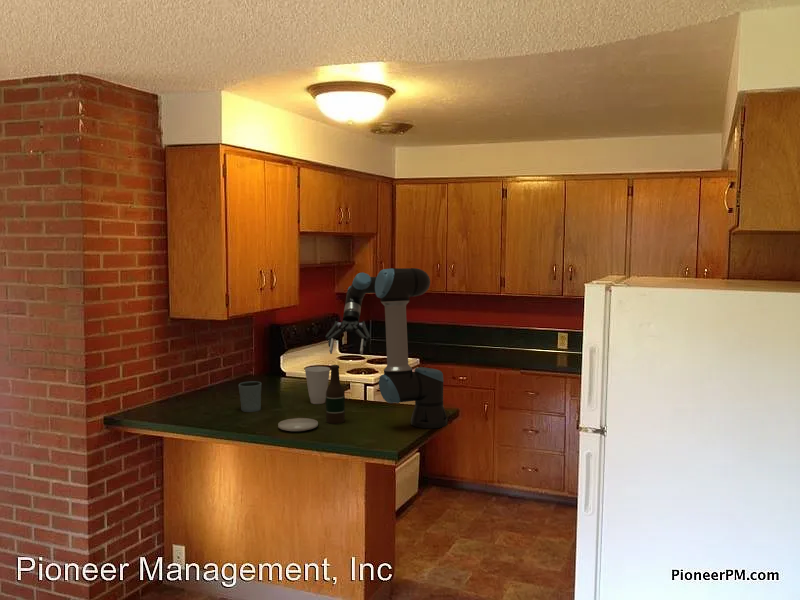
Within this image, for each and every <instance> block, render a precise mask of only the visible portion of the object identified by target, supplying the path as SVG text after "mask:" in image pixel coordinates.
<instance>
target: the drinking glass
mask: <svg viewBox="0 0 800 600" xmlns="http://www.w3.org/2000/svg"><path fill="white" fill-rule="evenodd" d="M237 386H238V391H239V401H240V410H241V411H242V412H245V413H254V412H259V411H261V409H262V407H261V405H262V402H261V401H262V395H261V394H262V382H261V381H255V380H254V381H252V380H251V381H243V382H240V383H239V384H238V385H237Z"/></svg>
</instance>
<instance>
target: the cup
mask: <svg viewBox="0 0 800 600" xmlns="http://www.w3.org/2000/svg"><path fill="white" fill-rule="evenodd" d="M304 371H305V377H306V384H307V391H308V398H309V401H310V403H311V404H313V405H320V404H321V405H322V404H326V391H327V388H328V387H329V382H330V381H329V380H330V379H329V378H330V374H331V368H330V367H329V366H310V367H305V368H304Z"/></svg>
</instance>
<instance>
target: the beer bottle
mask: <svg viewBox="0 0 800 600" xmlns="http://www.w3.org/2000/svg"><path fill="white" fill-rule="evenodd" d="M329 368H330V381H329V384H328V388H327V391H326V400H325V413H326V415H325V416H326V417H325V419H326V420H325V421H326V422H327V423H328V424H332V425H338V424H342V423H344V422H345V421H346V420H345V419H346V417H345V416H346V415H345V413H346V412H345V411H346V409H345V407H346V405H345V402H346V401H345V400H346V398H345V390H344V387H343V386H342V384H341V381H340V370H339V369H340V365H339V364H332V365H330V367H329Z"/></svg>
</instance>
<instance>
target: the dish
mask: <svg viewBox="0 0 800 600" xmlns="http://www.w3.org/2000/svg"><path fill="white" fill-rule="evenodd" d="M277 425H278V426H277V427H278V429H280V430H283V431H288V432H293V433H294V432H296V433H298V432H299V433H300V432H306V431H309V430H312V429H316V428H317V427H318V425H319V422H318V420H316V419H313V418H306V417H304V418H303V417H298V418H297V417H296V418H288V419H284V420H281V421H279V422H278V424H277Z"/></svg>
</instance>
